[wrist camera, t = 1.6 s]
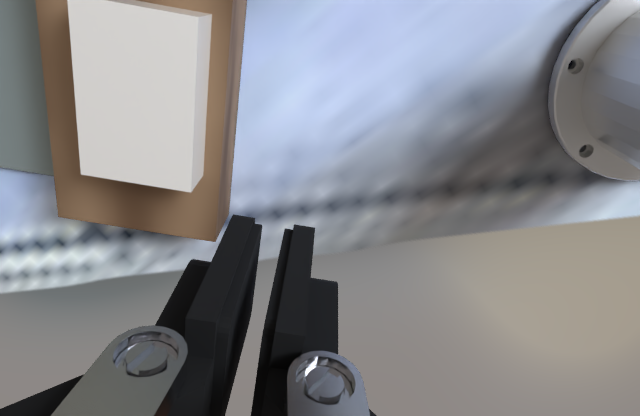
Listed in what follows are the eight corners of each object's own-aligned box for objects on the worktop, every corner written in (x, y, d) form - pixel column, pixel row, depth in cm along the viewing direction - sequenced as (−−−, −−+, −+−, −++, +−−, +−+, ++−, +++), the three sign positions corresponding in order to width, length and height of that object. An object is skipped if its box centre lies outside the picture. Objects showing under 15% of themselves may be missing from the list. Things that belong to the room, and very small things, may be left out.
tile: (212, 14, 23) (198, 17, 21) (203, 175, 27) (191, 192, 25) (93, -8, 23) (66, -7, 20) (102, 158, 27) (80, 174, 24)
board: (253, -75, 25) (238, -86, 21) (228, 213, 32) (215, 241, 29) (68, -110, 24) (21, -127, 20) (89, 191, 32) (58, 216, 28)
